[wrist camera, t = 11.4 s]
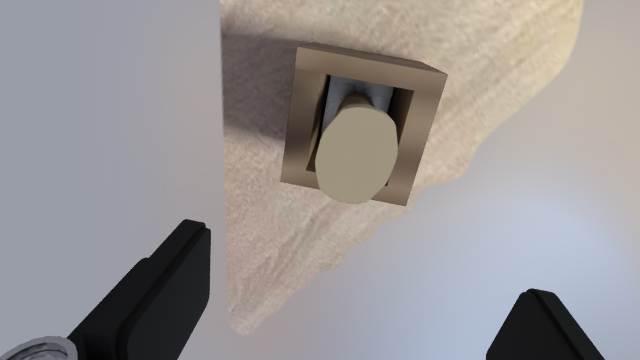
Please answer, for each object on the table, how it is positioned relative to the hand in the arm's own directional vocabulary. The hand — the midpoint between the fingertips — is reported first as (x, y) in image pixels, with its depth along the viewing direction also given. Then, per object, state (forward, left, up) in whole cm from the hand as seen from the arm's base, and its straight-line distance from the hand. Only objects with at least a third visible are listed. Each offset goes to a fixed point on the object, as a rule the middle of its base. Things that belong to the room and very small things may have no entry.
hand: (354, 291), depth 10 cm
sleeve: (0, 0, -28) cm, 28 cm away
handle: (0, 0, -27) cm, 27 cm away
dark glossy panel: (0, 0, -28) cm, 28 cm away
